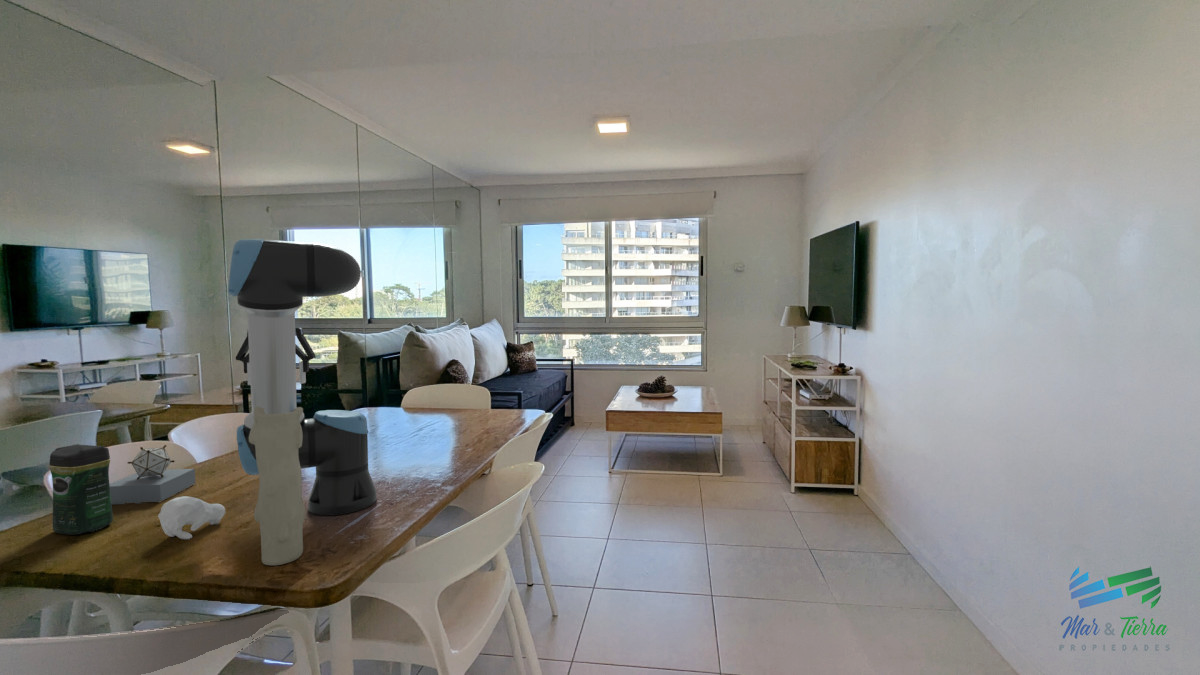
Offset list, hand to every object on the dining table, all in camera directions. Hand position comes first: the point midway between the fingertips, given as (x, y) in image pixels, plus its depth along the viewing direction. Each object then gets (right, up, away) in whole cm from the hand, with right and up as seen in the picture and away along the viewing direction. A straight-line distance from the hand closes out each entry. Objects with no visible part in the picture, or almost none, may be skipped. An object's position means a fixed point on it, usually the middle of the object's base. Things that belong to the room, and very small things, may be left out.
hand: (277, 383), depth 147 cm
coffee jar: (-19, -29, -37) cm, 50 cm away
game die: (-22, -23, -16) cm, 36 cm away
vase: (+33, -30, -49) cm, 66 cm away
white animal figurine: (+7, -29, -38) cm, 48 cm away
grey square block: (-23, -28, -16) cm, 39 cm away
